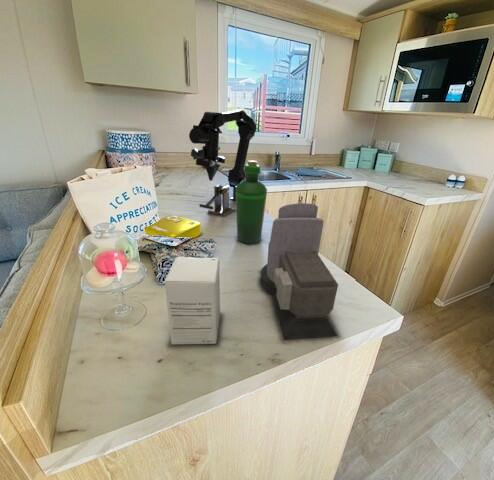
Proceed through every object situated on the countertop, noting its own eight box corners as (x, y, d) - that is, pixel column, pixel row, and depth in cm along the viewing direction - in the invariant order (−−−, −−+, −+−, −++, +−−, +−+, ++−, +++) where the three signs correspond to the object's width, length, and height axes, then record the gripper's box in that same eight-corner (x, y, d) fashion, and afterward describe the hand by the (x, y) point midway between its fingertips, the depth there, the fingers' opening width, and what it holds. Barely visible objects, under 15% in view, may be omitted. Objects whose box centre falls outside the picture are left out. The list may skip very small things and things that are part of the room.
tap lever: (212, 211, 112) (211, 206, 111) (200, 208, 114) (198, 203, 112) (229, 192, 122) (228, 187, 121) (218, 189, 124) (217, 185, 122)
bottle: (268, 237, 103) (274, 161, 91) (255, 248, 94) (259, 165, 82) (243, 231, 107) (246, 157, 95) (228, 241, 98) (229, 160, 86)
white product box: (180, 314, 62) (175, 255, 55) (220, 314, 62) (220, 256, 56) (169, 345, 53) (162, 280, 47) (216, 345, 54) (215, 281, 48)
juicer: (256, 266, 83) (261, 187, 73) (307, 265, 86) (318, 188, 76) (274, 340, 57) (285, 231, 46) (346, 335, 60) (371, 231, 49)
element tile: (140, 237, 95) (138, 225, 93) (172, 224, 107) (171, 213, 105) (174, 248, 90) (173, 235, 88) (203, 233, 102) (202, 221, 100)
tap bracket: (223, 216, 120) (223, 190, 115) (208, 213, 123) (207, 187, 118) (234, 210, 129) (235, 185, 124) (220, 207, 131) (219, 182, 126)
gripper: (203, 141, 127) (202, 175, 133) (183, 142, 110) (184, 181, 116) (226, 144, 126) (224, 178, 132) (210, 145, 109) (209, 184, 114)
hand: (210, 180), depth 123 cm, fingers closed
